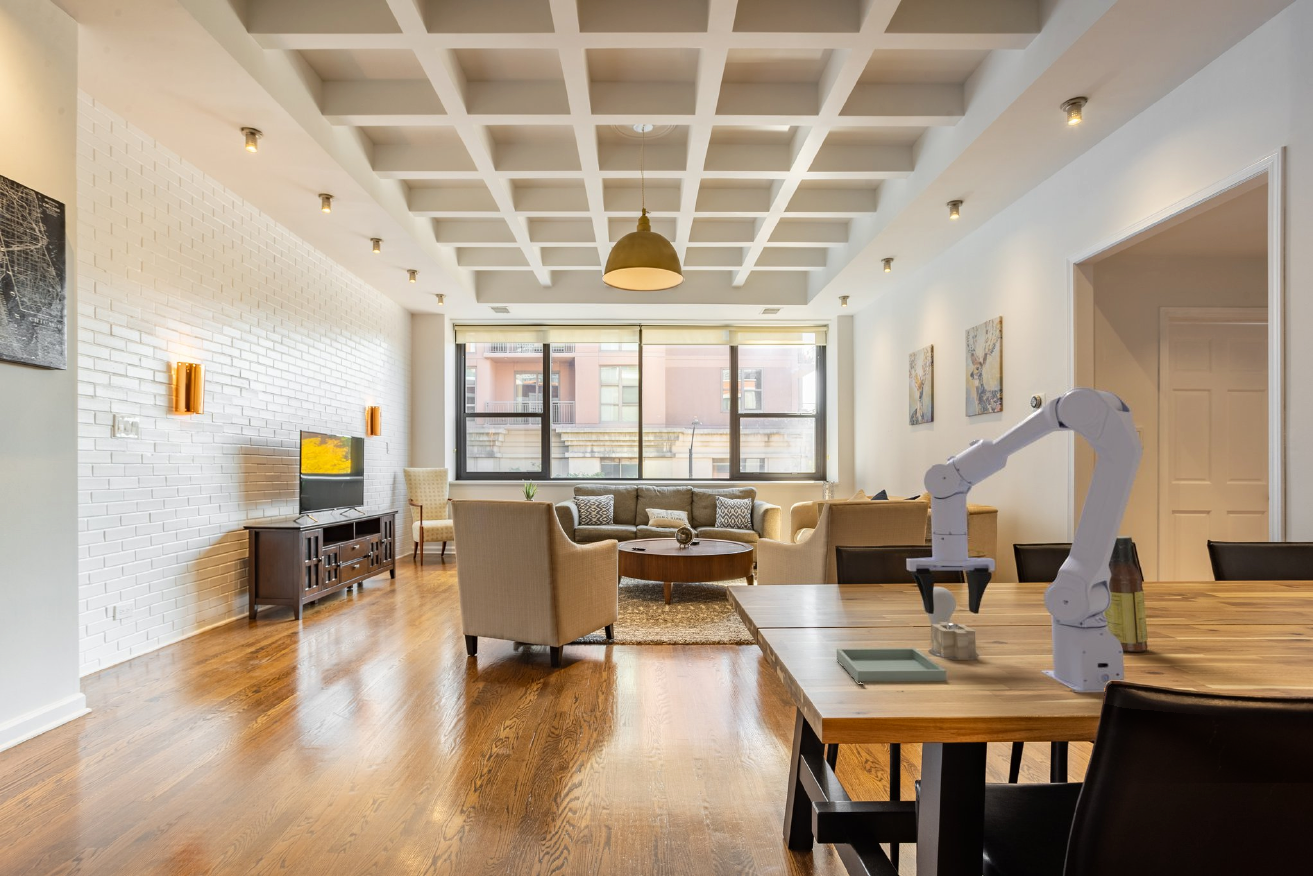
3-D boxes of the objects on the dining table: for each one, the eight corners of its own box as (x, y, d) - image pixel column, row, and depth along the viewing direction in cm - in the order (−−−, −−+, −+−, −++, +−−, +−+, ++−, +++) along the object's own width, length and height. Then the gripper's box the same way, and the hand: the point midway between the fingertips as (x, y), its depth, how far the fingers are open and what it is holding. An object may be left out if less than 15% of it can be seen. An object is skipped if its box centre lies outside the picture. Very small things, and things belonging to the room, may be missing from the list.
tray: (946, 684, 104) (946, 670, 104) (858, 684, 104) (857, 671, 104) (915, 660, 117) (914, 648, 117) (836, 660, 117) (836, 648, 117)
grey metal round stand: (987, 662, 115) (986, 628, 115) (939, 662, 115) (938, 629, 116) (966, 649, 123) (965, 618, 123) (921, 650, 123) (920, 619, 124)
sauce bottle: (1135, 644, 125) (1130, 534, 126) (1156, 653, 119) (1151, 537, 120) (1096, 644, 126) (1092, 534, 127) (1116, 653, 120) (1111, 538, 121)
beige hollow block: (980, 659, 115) (979, 632, 115) (947, 659, 115) (946, 633, 115) (958, 646, 123) (958, 621, 124) (928, 647, 123) (927, 622, 124)
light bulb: (952, 646, 126) (950, 590, 127) (919, 641, 130) (917, 587, 130) (960, 639, 131) (959, 586, 131) (928, 635, 134) (926, 583, 135)
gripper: (981, 531, 124) (983, 607, 123) (899, 531, 124) (901, 608, 124) (999, 535, 117) (1002, 616, 116) (913, 535, 117) (915, 616, 117)
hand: (951, 612), depth 120 cm, fingers open, 7 cm apart
